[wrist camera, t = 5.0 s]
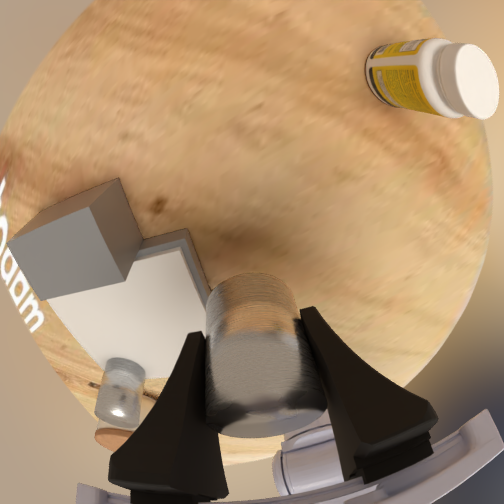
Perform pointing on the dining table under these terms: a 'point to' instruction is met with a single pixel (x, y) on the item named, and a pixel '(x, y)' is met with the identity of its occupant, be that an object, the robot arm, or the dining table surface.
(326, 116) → the dining table surface
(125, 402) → the cylinder
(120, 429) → the lidded jar
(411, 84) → the supplement bottle
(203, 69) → the dining table surface
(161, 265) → the scale
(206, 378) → the cylinder
